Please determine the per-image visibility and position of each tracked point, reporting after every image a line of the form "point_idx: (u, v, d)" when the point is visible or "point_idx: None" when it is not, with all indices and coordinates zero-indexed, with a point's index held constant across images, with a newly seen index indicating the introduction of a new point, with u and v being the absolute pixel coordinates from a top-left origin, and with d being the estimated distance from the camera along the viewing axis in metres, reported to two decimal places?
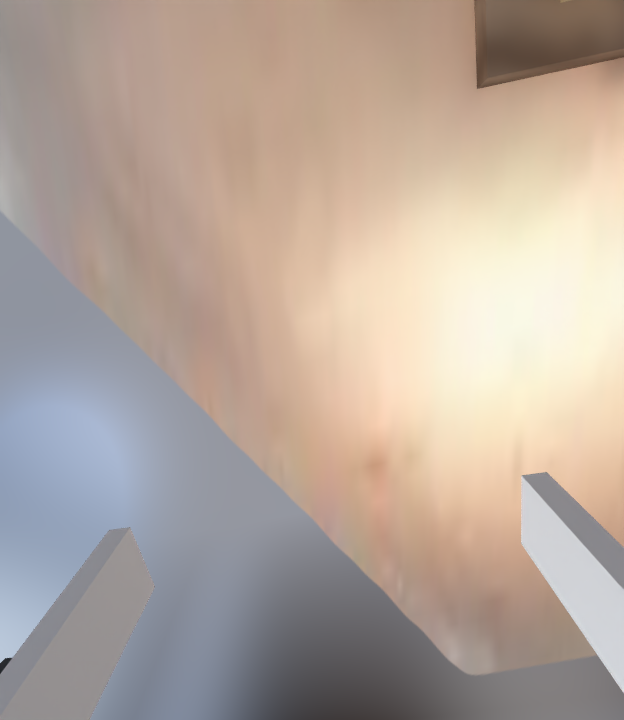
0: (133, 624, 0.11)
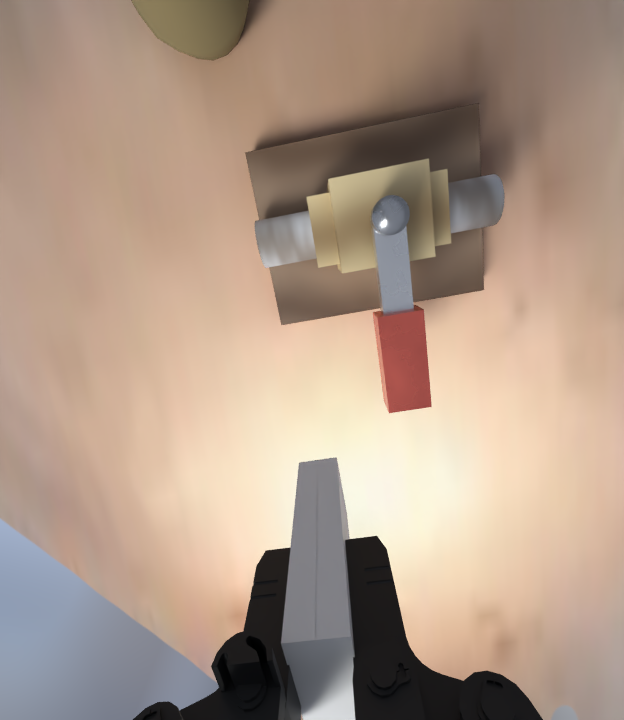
0: None
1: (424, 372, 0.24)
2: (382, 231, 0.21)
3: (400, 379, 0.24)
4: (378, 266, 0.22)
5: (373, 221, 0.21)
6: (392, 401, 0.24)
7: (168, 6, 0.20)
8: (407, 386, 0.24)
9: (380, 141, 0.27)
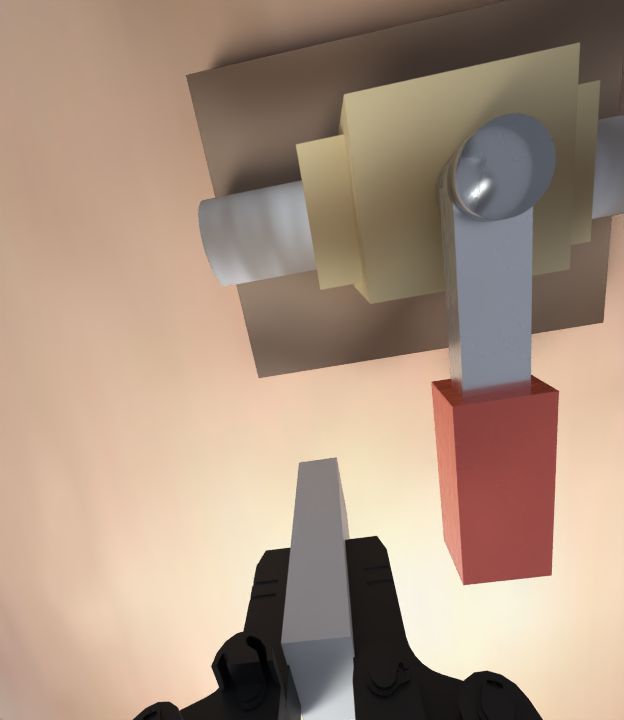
0: None
1: (544, 513, 0.11)
2: (481, 210, 0.08)
3: (492, 526, 0.11)
4: (458, 293, 0.10)
5: (460, 185, 0.08)
6: (472, 565, 0.12)
7: None
8: (505, 539, 0.11)
9: (436, 51, 0.14)
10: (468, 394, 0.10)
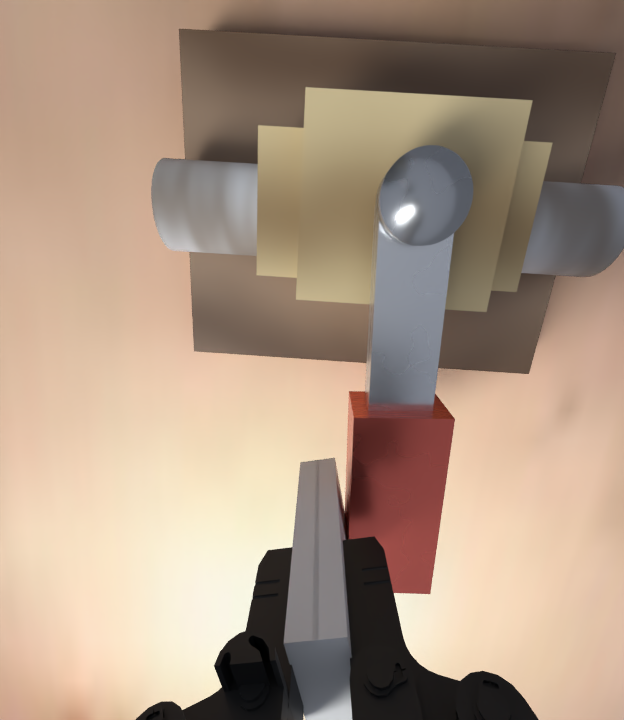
0: None
1: (430, 534, 0.12)
2: (398, 233, 0.09)
3: (379, 539, 0.12)
4: (375, 309, 0.10)
5: (381, 204, 0.08)
6: None
7: None
8: (390, 553, 0.12)
9: (427, 76, 0.15)
10: (373, 408, 0.11)
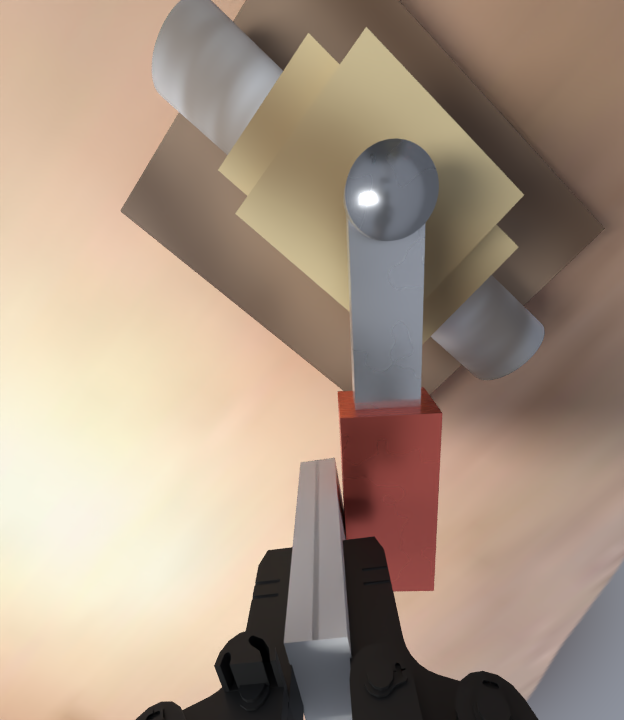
0: None
1: (427, 530, 0.11)
2: (366, 229, 0.08)
3: (377, 538, 0.12)
4: (352, 308, 0.10)
5: (347, 202, 0.08)
6: None
7: None
8: (390, 551, 0.12)
9: (475, 132, 0.15)
10: (360, 407, 0.11)
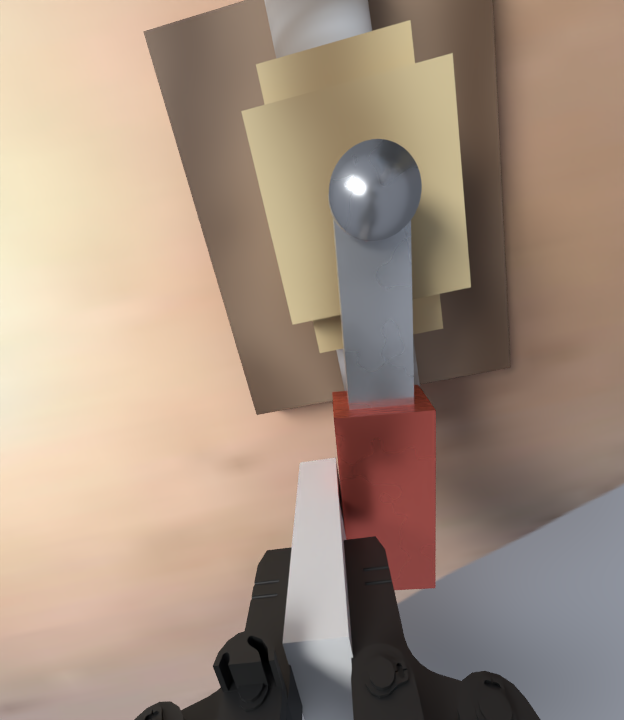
0: None
1: (426, 527, 0.11)
2: (352, 230, 0.08)
3: (376, 537, 0.12)
4: (342, 308, 0.10)
5: (331, 204, 0.08)
6: None
7: None
8: (390, 550, 0.12)
9: (477, 224, 0.16)
10: (354, 407, 0.11)
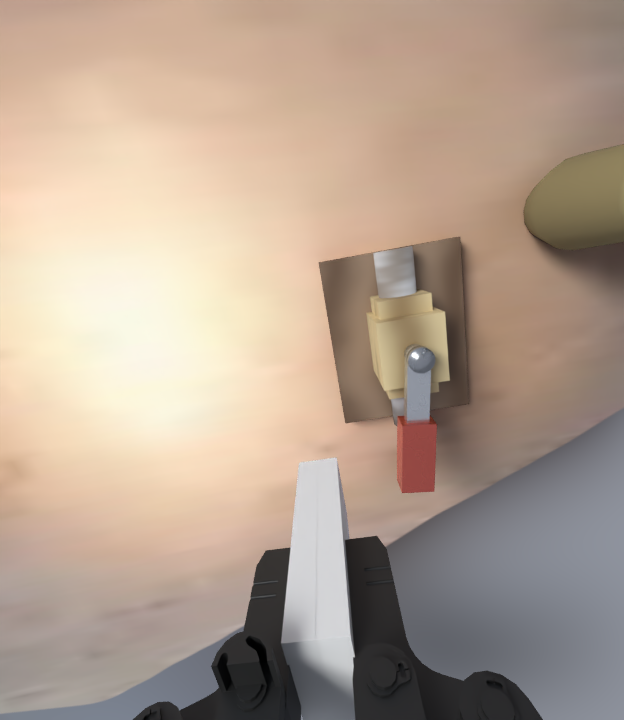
0: None
1: (432, 466, 0.32)
2: (414, 370, 0.29)
3: (413, 470, 0.32)
4: (407, 390, 0.30)
5: (408, 363, 0.29)
6: (405, 485, 0.32)
7: (570, 193, 0.27)
8: (418, 475, 0.32)
9: (454, 341, 0.37)
10: (408, 422, 0.31)
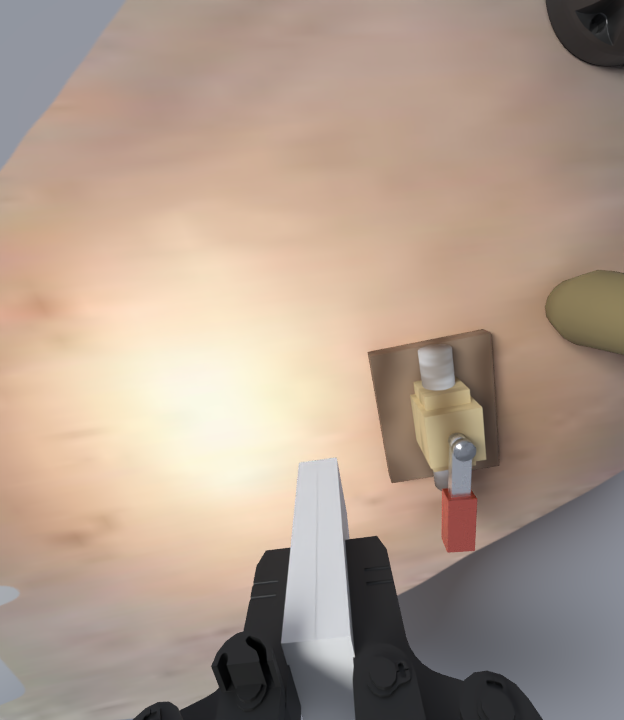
0: None
1: (473, 531, 0.38)
2: (458, 459, 0.35)
3: (457, 534, 0.38)
4: (452, 472, 0.36)
5: (454, 453, 0.35)
6: (450, 546, 0.38)
7: (587, 314, 0.33)
8: (461, 538, 0.38)
9: (486, 415, 0.43)
10: (453, 496, 0.37)
